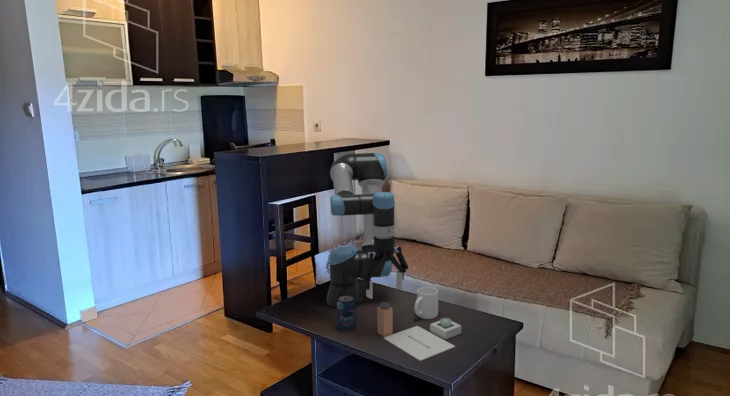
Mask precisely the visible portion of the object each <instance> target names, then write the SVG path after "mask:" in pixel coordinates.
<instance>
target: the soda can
mask: <svg viewBox="0 0 730 396" xmlns="http://www.w3.org/2000/svg"><path fill="white" fill-rule="evenodd" d="M356 307H357V306H355V300H354V298H353V297H352V296H349V295H344V296H340V297H339V298H338V301H337V308H336V316H337V328H338V329H339V330H340V331H342V332H351V331H353V330H354V329H355V327H356V326H357V319H356V318H357V315H356V314H357V313H356Z"/></svg>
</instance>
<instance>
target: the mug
mask: <svg viewBox="0 0 730 396" xmlns="http://www.w3.org/2000/svg"><path fill="white" fill-rule="evenodd" d="M413 307H414V308H413V309H414V313H415V315H417V317H419V318H420V319H423V320H434V319H436V318H437V317H438V315H439V290H438V289H437V288H436V287H432V286H423V287H418V288H417V290H416V300H415V302H414V306H413Z"/></svg>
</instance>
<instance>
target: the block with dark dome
mask: <svg viewBox="0 0 730 396" xmlns="http://www.w3.org/2000/svg"><path fill="white" fill-rule="evenodd" d="M393 309H394V308H393V307H391V306H390V303H389V302H385V301H384V302H380V306H377V307H376V315H377V319H376V322H377V325H376V326H377V328H376V329H377V334H379V335H381V336H382V337H383V338H384V337H387V336H390V335H393V334H394V330H393V329H394V326H393V325H394V324H393V323H394V321H393V320H394V319H393V318H394V317H393V315H394V314H393V311H394V310H393Z"/></svg>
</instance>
